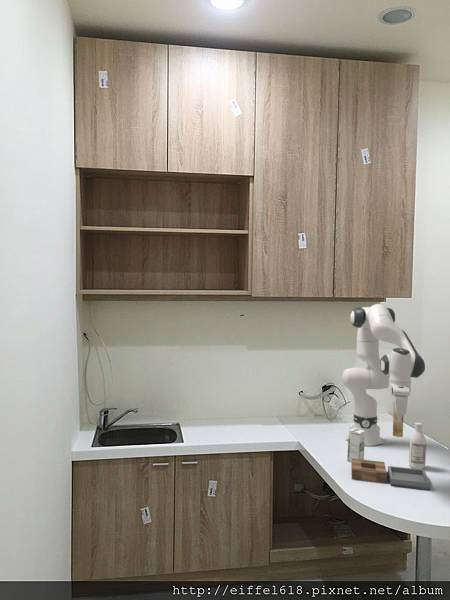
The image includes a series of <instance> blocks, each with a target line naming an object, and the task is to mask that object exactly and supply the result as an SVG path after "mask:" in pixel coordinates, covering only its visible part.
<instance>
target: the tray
mask: <svg viewBox="0 0 450 600" xmlns="http://www.w3.org/2000/svg"><path fill="white" fill-rule="evenodd" d="M387 475H388V478H389V484H390V487H396V488H405V489H407V488H408V489H415V490H423V491H431V483H430V480H429V477H428V476H427V473H426V470H425V469H414V468H411V467H401V466H393V465H387Z"/></svg>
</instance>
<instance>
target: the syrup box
mask: <svg viewBox="0 0 450 600" xmlns="http://www.w3.org/2000/svg"><path fill="white" fill-rule="evenodd" d="M348 435H349V438H348V442H347V456H346V457H347V459H346V460H347V462H350V463H352V459H361V460H365V459H364V457H365V431H364V430H361V429H356V428H354V429H352V430H350V429H349V431H348Z"/></svg>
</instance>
